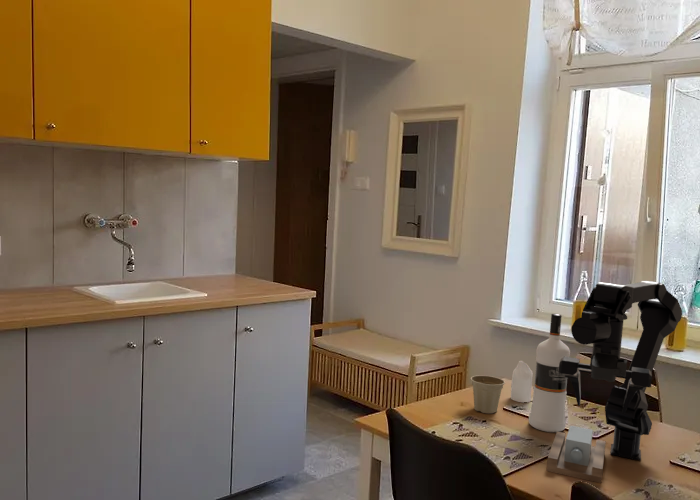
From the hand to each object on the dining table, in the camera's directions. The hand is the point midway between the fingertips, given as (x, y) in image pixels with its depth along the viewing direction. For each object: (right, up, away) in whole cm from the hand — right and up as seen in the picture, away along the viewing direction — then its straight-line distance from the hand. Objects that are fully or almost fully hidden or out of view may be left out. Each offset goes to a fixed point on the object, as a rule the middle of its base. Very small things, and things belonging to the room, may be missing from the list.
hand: (600, 409), depth 136 cm
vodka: (-4, -11, +24) cm, 27 cm away
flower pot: (-18, -10, +35) cm, 41 cm away
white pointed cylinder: (-5, -10, +47) cm, 48 cm away
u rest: (-4, -13, +3) cm, 14 cm away
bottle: (-5, -11, +2) cm, 12 cm away
